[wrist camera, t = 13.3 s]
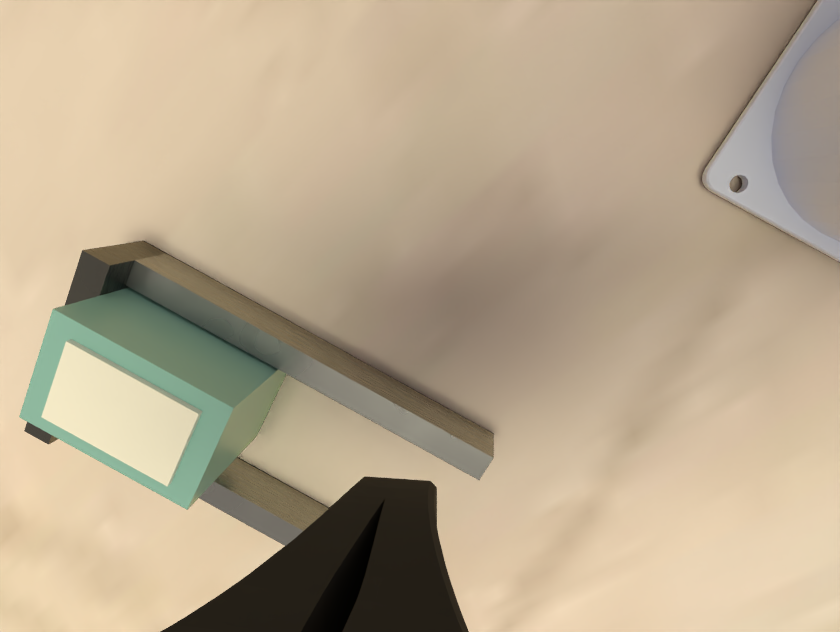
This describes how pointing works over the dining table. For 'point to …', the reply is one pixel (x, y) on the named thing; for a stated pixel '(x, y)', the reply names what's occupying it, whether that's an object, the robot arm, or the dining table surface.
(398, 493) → the robot arm
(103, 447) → the module
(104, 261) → the rail
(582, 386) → the dining table surface
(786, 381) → the dining table surface
